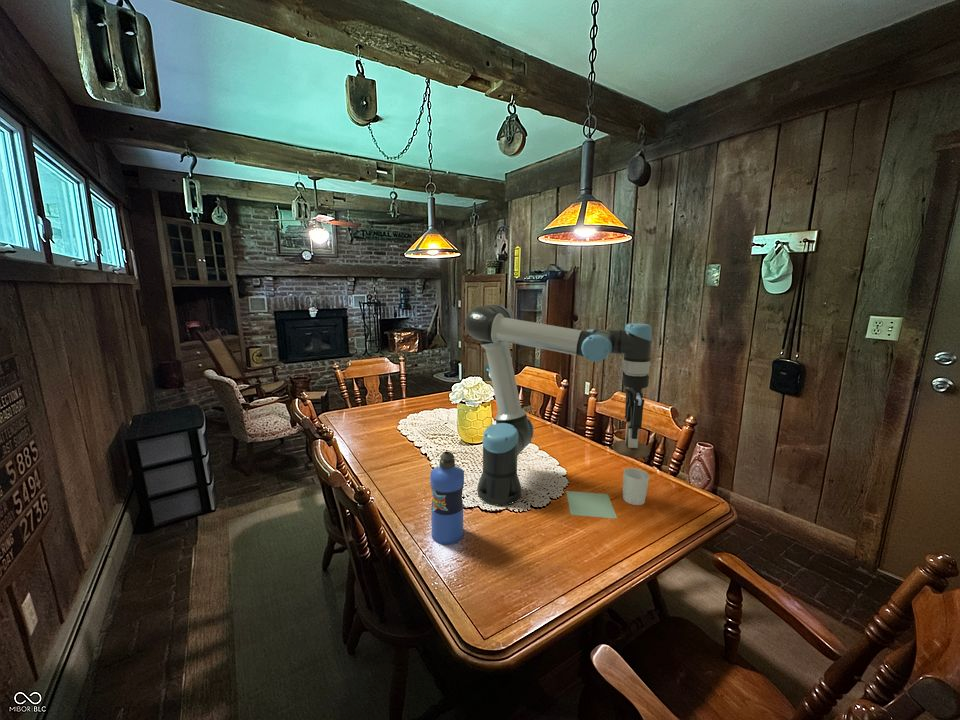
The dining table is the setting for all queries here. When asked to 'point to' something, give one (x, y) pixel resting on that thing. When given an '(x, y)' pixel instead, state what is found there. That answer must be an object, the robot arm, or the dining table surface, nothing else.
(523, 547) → the dining table surface
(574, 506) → the mat
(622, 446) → the lid
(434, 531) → the water bottle
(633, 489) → the white cup
